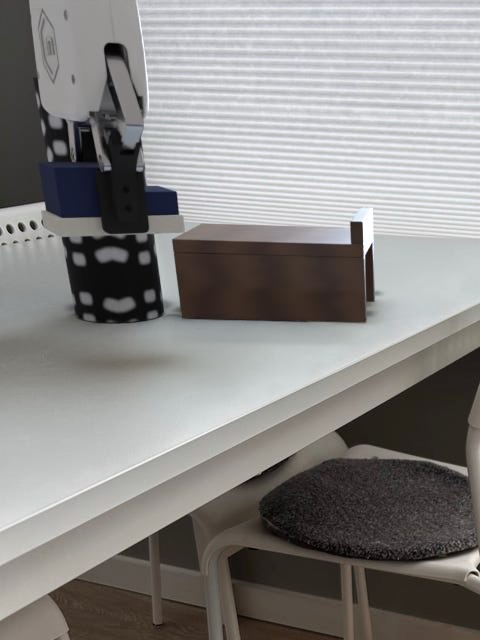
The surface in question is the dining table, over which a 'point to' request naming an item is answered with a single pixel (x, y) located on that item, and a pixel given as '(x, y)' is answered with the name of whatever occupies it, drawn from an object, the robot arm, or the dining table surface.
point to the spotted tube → (105, 255)
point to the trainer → (96, 202)
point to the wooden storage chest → (277, 271)
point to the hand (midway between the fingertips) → (114, 225)
